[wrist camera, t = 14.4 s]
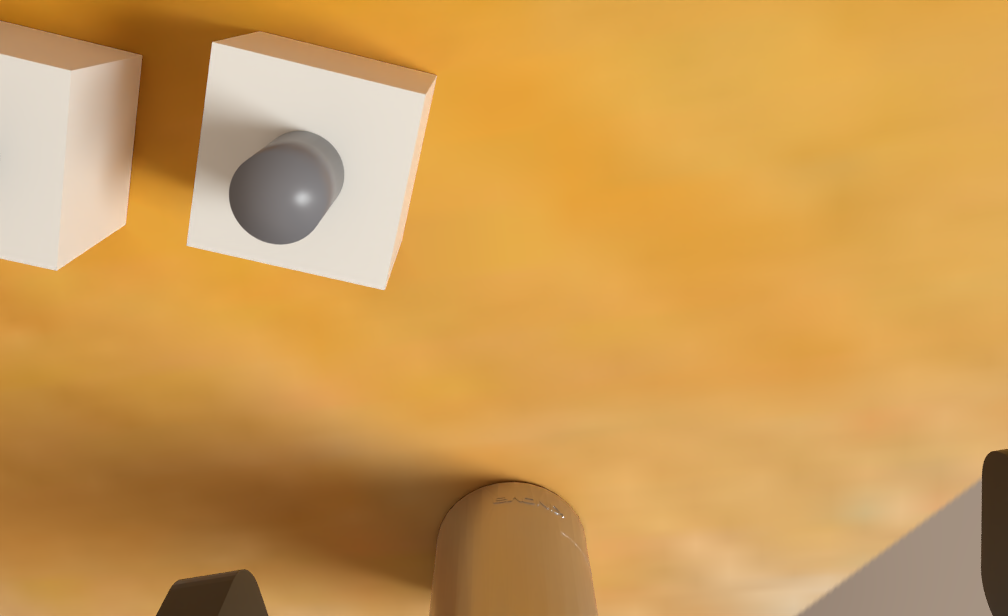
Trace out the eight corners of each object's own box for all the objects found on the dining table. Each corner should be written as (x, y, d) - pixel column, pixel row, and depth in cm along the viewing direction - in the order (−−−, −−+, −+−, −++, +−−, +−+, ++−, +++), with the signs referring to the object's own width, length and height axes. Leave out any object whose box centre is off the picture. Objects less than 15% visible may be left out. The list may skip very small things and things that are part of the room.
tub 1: (401, 241, 48) (370, 331, 36) (235, 203, 47) (145, 281, 35) (436, 75, 45) (416, 111, 33) (260, 30, 44) (170, 51, 32)
